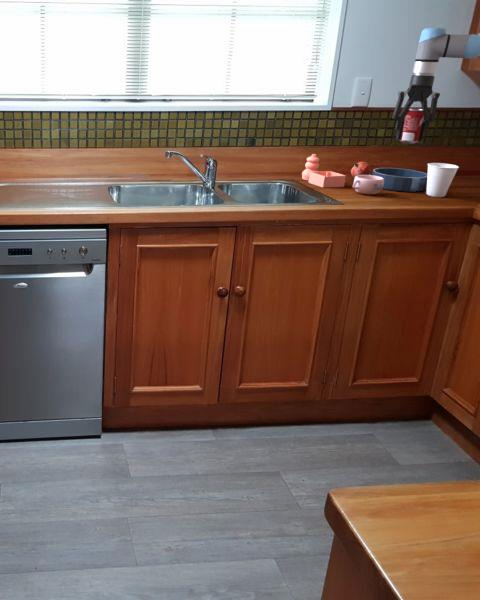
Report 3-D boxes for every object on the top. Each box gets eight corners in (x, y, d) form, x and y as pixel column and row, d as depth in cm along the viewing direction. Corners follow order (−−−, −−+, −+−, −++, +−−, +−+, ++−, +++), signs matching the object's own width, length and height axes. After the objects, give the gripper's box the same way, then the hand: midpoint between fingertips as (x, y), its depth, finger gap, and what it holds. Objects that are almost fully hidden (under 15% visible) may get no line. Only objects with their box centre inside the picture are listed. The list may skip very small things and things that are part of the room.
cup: (450, 200, 216) (458, 169, 211) (419, 196, 220) (426, 165, 216) (451, 195, 223) (459, 164, 219) (421, 191, 228) (428, 161, 224)
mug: (366, 189, 229) (370, 173, 226) (387, 195, 220) (391, 179, 218) (341, 191, 225) (344, 175, 222) (361, 197, 216) (365, 181, 214)
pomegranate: (358, 182, 250) (342, 167, 247) (372, 169, 247) (357, 153, 244) (365, 188, 244) (349, 173, 241) (380, 174, 241) (364, 159, 238)
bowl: (415, 183, 242) (418, 169, 240) (432, 193, 224) (436, 179, 222) (364, 180, 245) (367, 166, 242) (377, 190, 227) (381, 176, 225)
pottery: (343, 186, 232) (349, 160, 229) (322, 187, 230) (327, 161, 226) (315, 177, 248) (319, 152, 244) (295, 177, 246) (299, 153, 242)
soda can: (413, 144, 224) (421, 110, 219) (394, 141, 229) (402, 108, 224) (420, 142, 228) (428, 109, 223) (402, 140, 233) (409, 107, 228)
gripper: (448, 75, 221) (432, 139, 230) (391, 73, 224) (377, 137, 233) (456, 76, 214) (440, 142, 223) (397, 74, 217) (383, 139, 226)
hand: (408, 139), depth 228 cm, fingers closed on soda can, 7 cm apart
